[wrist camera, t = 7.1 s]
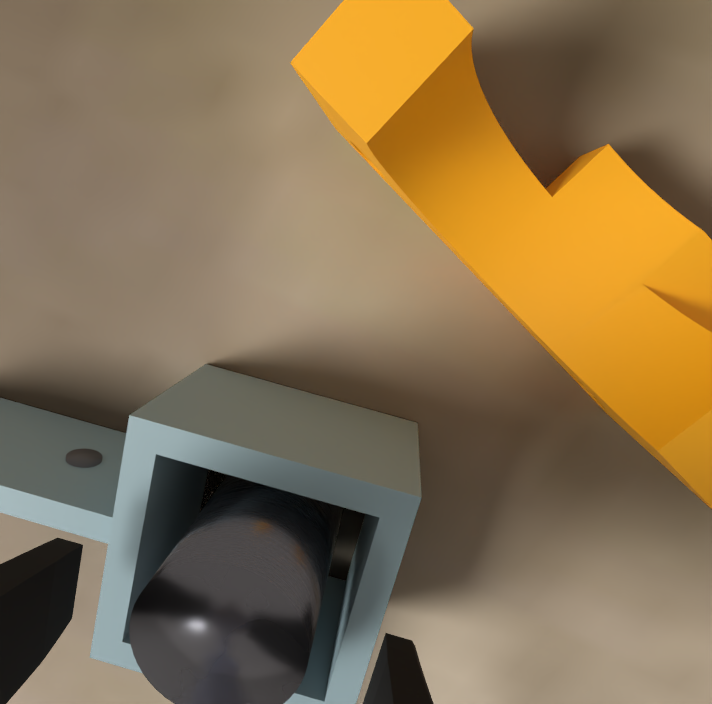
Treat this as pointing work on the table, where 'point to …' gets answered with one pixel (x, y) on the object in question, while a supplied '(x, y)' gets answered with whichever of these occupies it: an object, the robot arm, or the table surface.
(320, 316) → the table surface
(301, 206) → the table surface
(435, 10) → the pipe clamp
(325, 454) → the square tube bracket
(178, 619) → the pin
